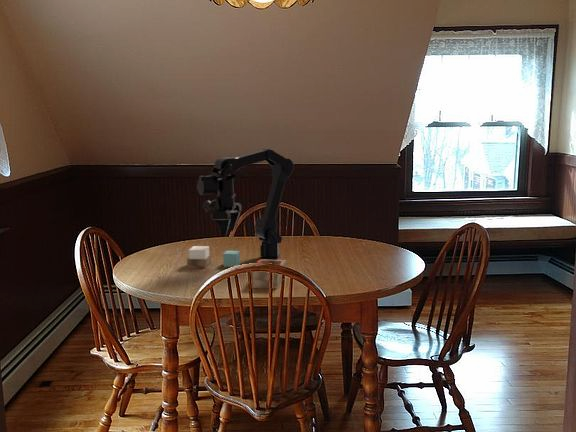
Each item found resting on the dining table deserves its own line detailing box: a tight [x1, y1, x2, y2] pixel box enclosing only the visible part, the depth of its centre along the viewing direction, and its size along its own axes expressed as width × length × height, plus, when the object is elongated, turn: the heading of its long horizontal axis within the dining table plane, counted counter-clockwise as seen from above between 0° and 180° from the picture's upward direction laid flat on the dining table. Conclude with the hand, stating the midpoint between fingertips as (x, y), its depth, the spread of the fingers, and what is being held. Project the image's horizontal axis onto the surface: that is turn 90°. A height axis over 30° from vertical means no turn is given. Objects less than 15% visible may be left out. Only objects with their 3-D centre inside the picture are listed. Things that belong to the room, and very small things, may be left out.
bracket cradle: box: [251, 258, 287, 290], centre depth 202 cm, size 9×16×6 cm, turn 170°
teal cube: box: [222, 250, 241, 268], centre depth 224 cm, size 5×5×5 cm
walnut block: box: [186, 254, 212, 269], centre depth 224 cm, size 7×7×4 cm
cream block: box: [188, 245, 210, 259], centre depth 223 cm, size 6×6×4 cm
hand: (228, 233), depth 223 cm, fingers open, 9 cm apart
